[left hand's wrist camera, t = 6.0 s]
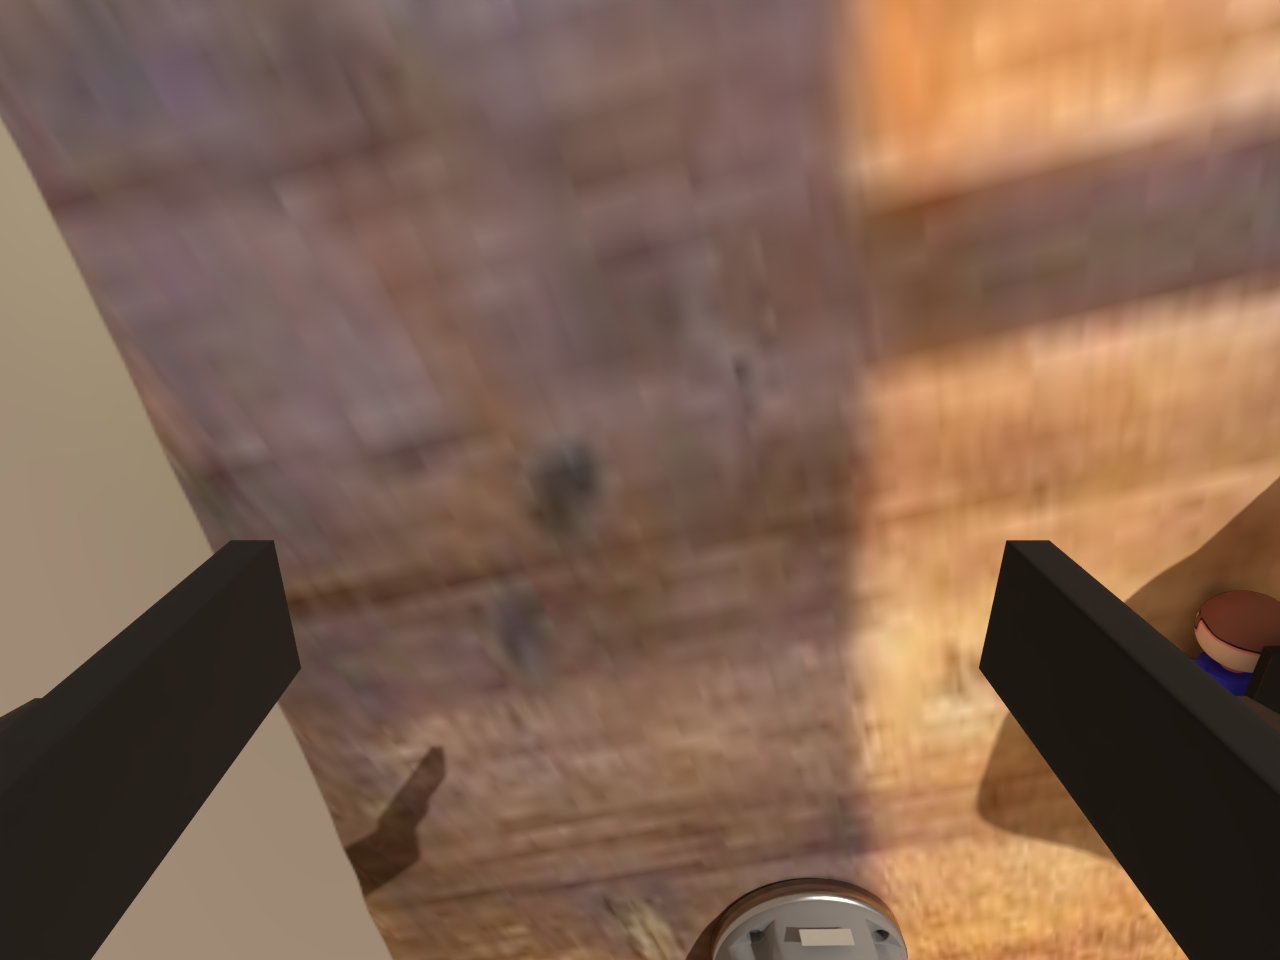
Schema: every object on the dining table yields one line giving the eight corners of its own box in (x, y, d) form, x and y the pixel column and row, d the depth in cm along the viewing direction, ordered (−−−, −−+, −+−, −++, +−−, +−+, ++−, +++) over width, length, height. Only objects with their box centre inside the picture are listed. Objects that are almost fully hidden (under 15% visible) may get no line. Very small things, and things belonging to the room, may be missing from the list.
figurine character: (1207, 741, 51) (1285, 571, 44) (1293, 837, 44) (1401, 656, 37) (1113, 745, 51) (1175, 577, 44) (1185, 842, 44) (1272, 662, 37)
